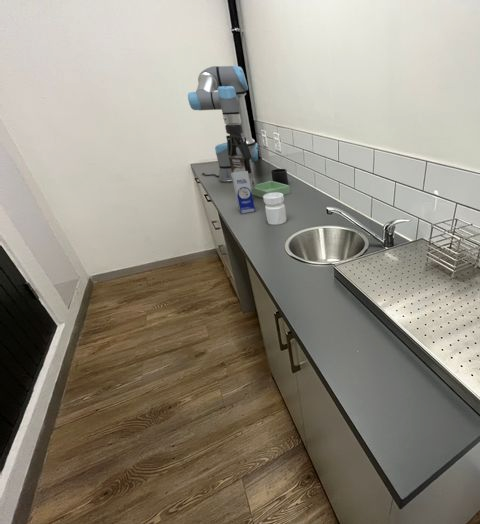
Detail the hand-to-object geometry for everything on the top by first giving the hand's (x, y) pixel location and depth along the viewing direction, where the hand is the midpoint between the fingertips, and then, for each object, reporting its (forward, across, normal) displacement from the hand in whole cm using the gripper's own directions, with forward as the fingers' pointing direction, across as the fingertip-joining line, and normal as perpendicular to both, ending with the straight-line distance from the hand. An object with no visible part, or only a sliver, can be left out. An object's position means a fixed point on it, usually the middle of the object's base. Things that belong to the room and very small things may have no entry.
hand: (242, 171), depth 150 cm
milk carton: (+16, +11, -8) cm, 21 cm away
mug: (+16, -15, +33) cm, 40 cm away
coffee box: (+9, 0, 0) cm, 9 cm away
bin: (+16, -4, +17) cm, 24 cm away
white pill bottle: (+16, +34, -7) cm, 38 cm away
